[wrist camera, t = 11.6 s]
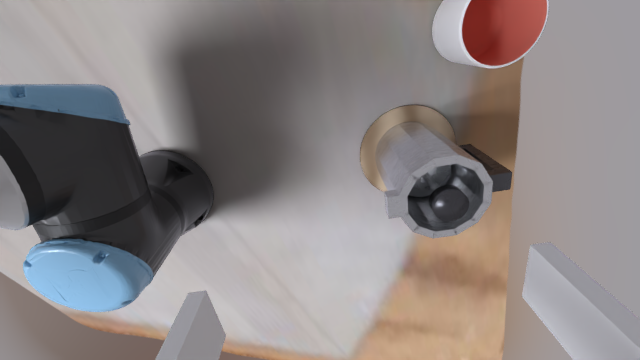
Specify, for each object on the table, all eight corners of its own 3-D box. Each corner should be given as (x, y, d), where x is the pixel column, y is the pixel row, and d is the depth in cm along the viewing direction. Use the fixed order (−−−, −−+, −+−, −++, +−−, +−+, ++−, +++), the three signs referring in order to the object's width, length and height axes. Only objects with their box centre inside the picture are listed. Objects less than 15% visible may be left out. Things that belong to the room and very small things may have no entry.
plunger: (395, 198, 46) (417, 240, 36) (392, 149, 43) (415, 181, 33) (448, 189, 45) (484, 230, 36) (449, 139, 42) (489, 169, 32)
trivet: (364, 200, 55) (365, 201, 54) (354, 114, 48) (355, 115, 48) (453, 186, 54) (454, 188, 53) (455, 97, 47) (457, 97, 47)
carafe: (370, 188, 53) (390, 244, 39) (363, 129, 49) (384, 166, 34) (460, 174, 52) (516, 226, 38) (462, 112, 48) (526, 144, 33)
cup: (503, 48, 44) (551, 50, 35) (436, 72, 46) (466, 80, 37) (495, -29, 40) (548, -48, 31) (422, 1, 42) (452, -10, 33)
